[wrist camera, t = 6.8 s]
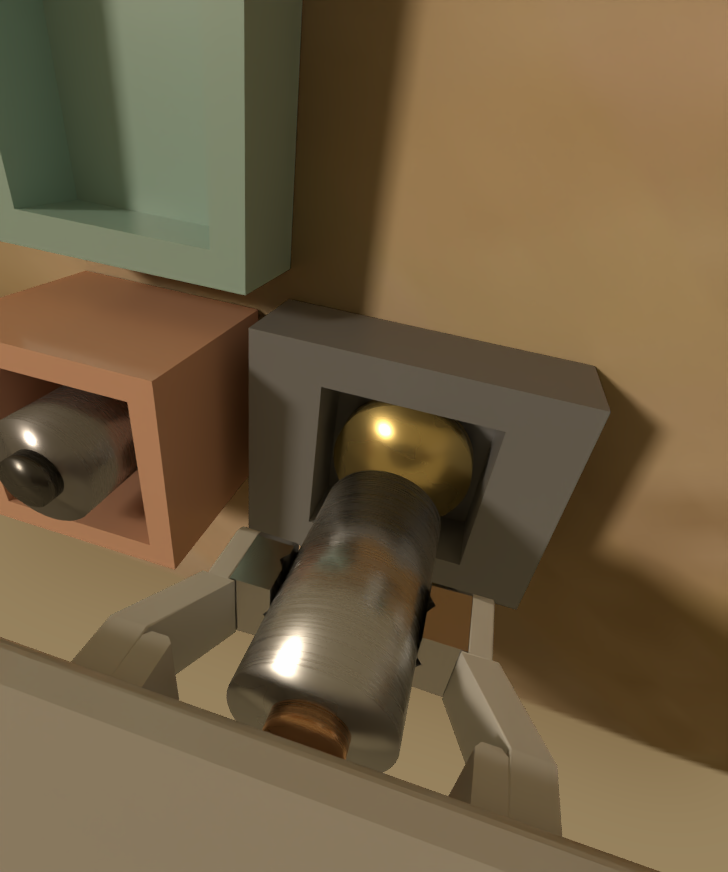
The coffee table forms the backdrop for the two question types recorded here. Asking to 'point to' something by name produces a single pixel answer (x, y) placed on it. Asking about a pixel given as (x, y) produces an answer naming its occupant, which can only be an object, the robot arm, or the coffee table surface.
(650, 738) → the coffee table surface
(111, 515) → the open cubby frame
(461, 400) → the gray square frame
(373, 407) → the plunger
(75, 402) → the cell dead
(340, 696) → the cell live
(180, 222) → the trough
